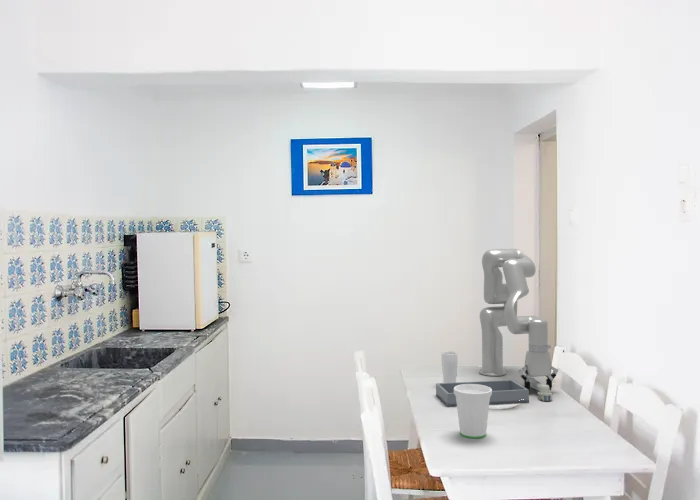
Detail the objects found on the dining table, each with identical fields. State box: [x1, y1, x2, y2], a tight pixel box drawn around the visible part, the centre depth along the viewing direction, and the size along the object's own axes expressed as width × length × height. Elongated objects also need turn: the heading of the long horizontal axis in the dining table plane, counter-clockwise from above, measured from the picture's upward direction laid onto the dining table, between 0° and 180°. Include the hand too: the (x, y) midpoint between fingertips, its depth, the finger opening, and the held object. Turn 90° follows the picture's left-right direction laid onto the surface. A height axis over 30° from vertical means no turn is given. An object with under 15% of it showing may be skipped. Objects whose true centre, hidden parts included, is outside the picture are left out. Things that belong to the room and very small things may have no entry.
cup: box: [454, 384, 492, 439], centre depth 195 cm, size 12×12×15 cm
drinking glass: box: [441, 350, 458, 383], centre depth 255 cm, size 7×7×15 cm
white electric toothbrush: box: [529, 377, 553, 402], centre depth 244 cm, size 5×7×25 cm
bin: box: [435, 379, 530, 408], centre depth 236 cm, size 16×33×5 cm, turn 97°
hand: (538, 389), depth 244 cm, fingers open, 8 cm apart
